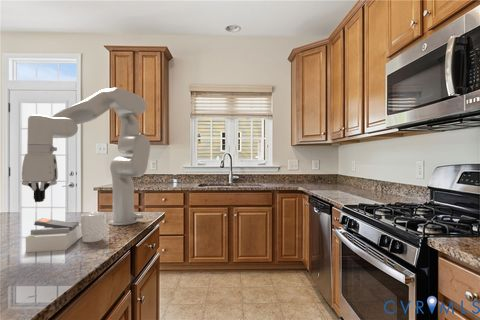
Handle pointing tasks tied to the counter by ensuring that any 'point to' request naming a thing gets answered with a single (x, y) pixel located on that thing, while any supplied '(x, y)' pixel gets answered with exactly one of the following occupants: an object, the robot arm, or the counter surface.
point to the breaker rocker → (55, 223)
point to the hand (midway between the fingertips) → (39, 201)
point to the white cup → (92, 226)
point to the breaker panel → (52, 238)
